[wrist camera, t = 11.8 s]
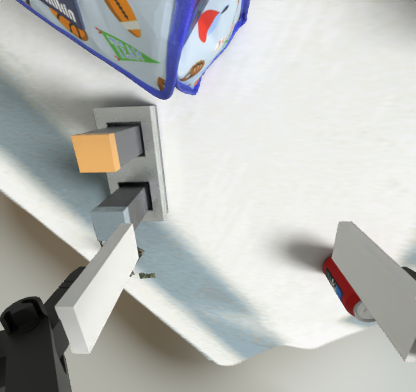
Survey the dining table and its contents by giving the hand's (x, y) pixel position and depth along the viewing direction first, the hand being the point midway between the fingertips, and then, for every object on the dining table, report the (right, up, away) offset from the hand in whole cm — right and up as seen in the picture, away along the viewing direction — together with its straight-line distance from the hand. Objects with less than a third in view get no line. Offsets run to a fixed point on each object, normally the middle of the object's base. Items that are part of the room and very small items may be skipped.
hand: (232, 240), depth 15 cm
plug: (-15, +13, +25) cm, 32 cm away
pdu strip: (-14, +7, +29) cm, 33 cm away
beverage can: (+26, -12, +35) cm, 45 cm away
